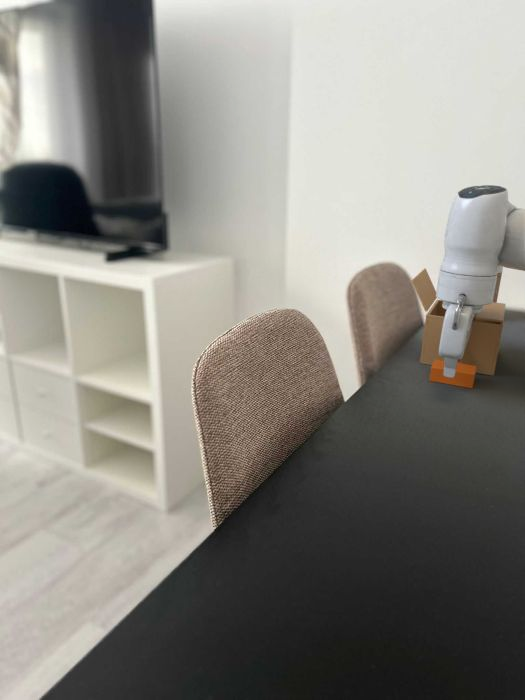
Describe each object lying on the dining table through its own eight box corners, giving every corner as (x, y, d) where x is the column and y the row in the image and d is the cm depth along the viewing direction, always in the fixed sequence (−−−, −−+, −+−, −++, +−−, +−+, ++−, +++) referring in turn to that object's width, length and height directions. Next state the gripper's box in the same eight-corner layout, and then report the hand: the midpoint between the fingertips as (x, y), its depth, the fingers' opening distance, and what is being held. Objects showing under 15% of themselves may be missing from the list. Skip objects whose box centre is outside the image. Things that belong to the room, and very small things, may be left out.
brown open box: (493, 375, 92) (503, 320, 89) (419, 363, 97) (426, 310, 94) (497, 353, 104) (506, 303, 101) (430, 343, 109) (437, 295, 106)
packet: (472, 388, 86) (474, 374, 85) (429, 380, 89) (431, 367, 88) (474, 379, 90) (476, 365, 89) (433, 372, 93) (435, 359, 92)
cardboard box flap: (413, 279, 93) (411, 280, 94) (427, 311, 94) (425, 311, 94) (425, 268, 105) (423, 268, 105) (438, 296, 106) (436, 296, 106)
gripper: (481, 304, 74) (465, 392, 78) (489, 281, 91) (475, 354, 96) (436, 298, 76) (423, 384, 81) (452, 277, 94) (440, 348, 98)
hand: (452, 367), depth 89 cm, fingers open, 7 cm apart
